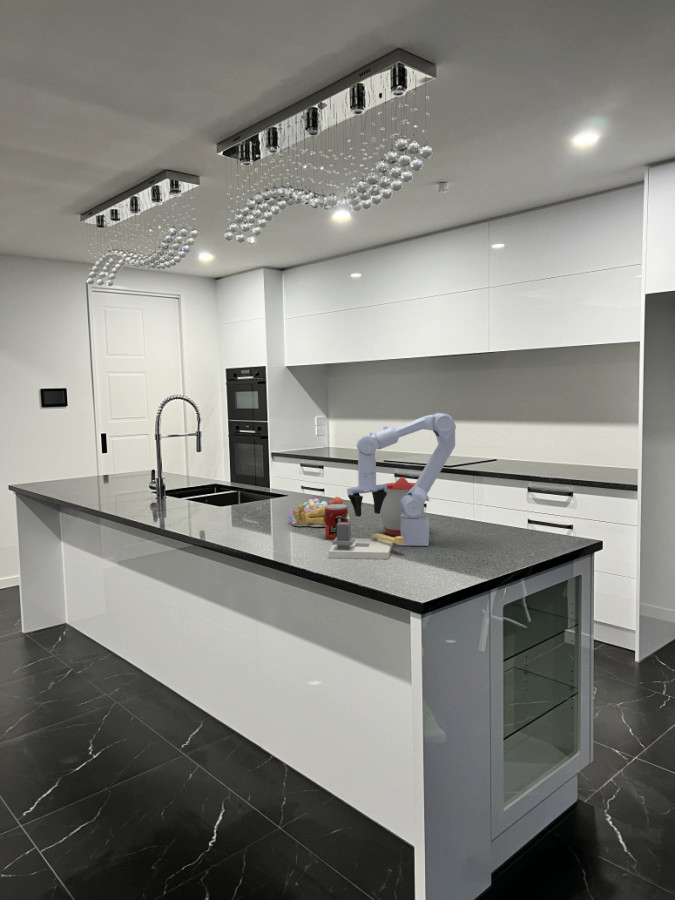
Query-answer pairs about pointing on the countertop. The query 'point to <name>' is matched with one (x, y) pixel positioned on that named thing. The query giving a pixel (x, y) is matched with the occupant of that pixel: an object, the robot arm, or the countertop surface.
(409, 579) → the countertop surface
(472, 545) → the countertop surface
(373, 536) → the clip
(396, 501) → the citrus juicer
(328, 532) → the canned food
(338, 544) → the plug
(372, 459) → the robot arm
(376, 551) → the socket board
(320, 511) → the candy landscape model
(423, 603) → the countertop surface
